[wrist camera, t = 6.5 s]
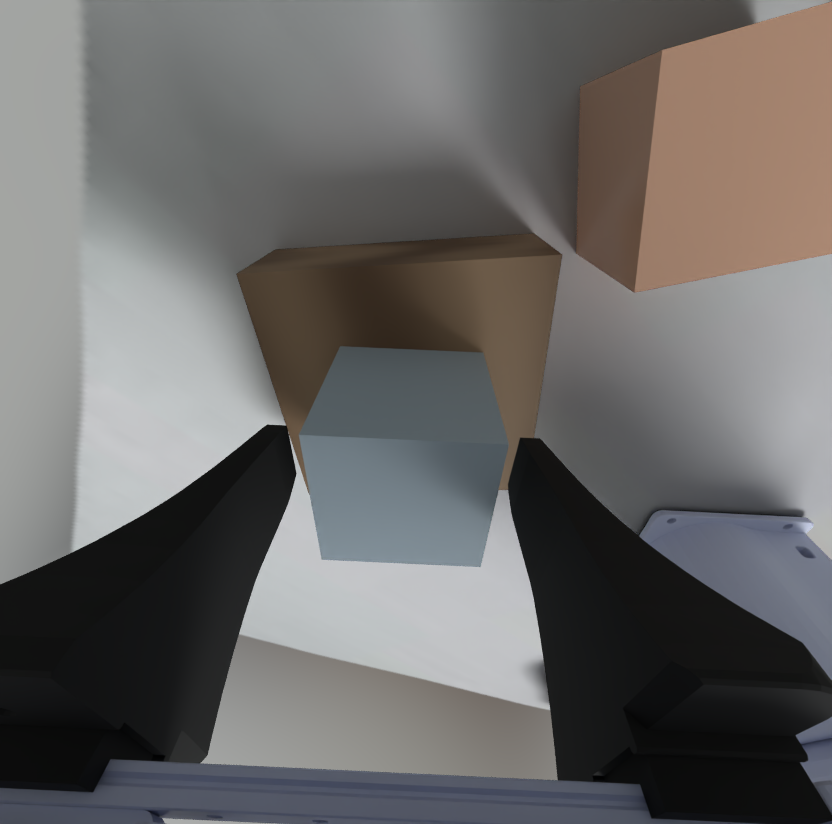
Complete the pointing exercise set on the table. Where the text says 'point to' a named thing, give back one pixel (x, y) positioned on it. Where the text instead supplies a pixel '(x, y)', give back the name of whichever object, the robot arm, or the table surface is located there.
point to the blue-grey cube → (404, 456)
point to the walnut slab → (408, 315)
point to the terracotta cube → (710, 155)
